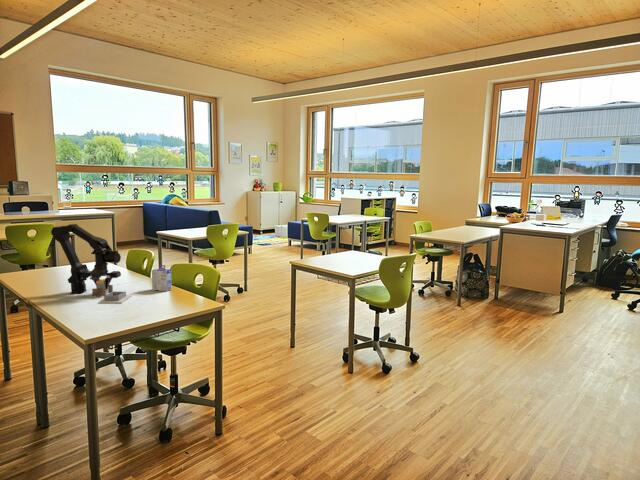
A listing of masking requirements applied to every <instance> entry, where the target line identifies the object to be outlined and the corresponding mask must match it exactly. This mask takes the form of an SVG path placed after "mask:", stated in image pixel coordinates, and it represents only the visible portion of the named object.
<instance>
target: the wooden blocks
mask: <svg viewBox="0 0 640 480" xmlns="http://www.w3.org/2000/svg"><path fill="white" fill-rule="evenodd" d="M91 291H92V296H93V297H104V296H105V295H107V294H106V289H97V288H92V290H91ZM111 292H114V285H113V284H109V293H111Z"/></svg>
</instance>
